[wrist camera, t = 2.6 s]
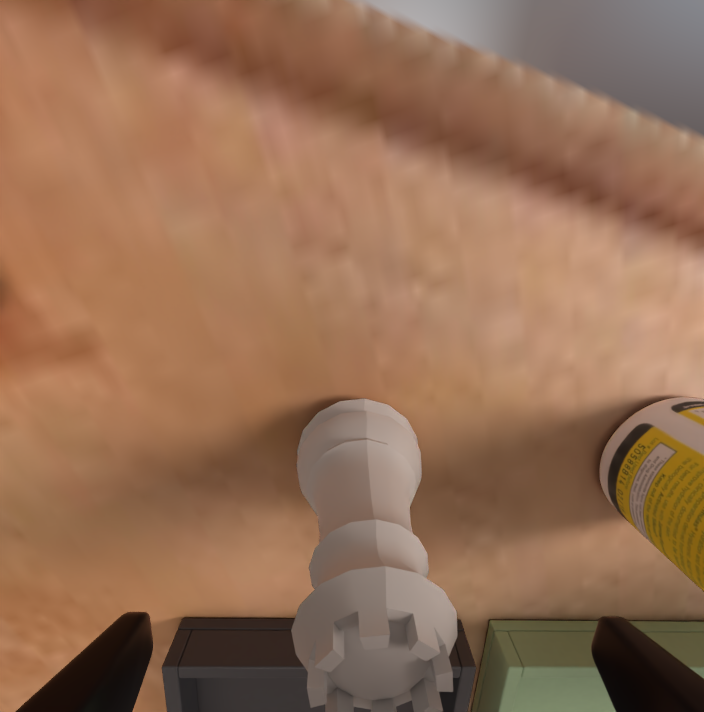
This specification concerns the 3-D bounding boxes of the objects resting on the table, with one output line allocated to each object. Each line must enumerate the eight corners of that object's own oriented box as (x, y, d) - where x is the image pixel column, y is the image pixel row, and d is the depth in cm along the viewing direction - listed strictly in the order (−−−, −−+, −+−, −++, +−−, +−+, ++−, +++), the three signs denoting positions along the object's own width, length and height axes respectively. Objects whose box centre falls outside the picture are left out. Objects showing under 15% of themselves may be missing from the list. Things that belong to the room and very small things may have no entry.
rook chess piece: (301, 388, 13) (251, 580, 6) (424, 397, 14) (537, 593, 6) (295, 495, 14) (246, 773, 7) (407, 502, 15) (483, 776, 7)
